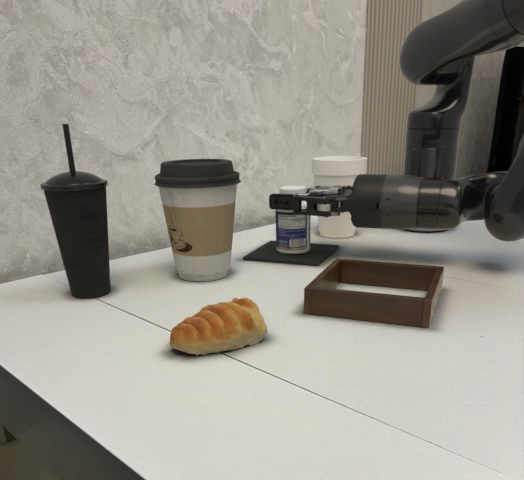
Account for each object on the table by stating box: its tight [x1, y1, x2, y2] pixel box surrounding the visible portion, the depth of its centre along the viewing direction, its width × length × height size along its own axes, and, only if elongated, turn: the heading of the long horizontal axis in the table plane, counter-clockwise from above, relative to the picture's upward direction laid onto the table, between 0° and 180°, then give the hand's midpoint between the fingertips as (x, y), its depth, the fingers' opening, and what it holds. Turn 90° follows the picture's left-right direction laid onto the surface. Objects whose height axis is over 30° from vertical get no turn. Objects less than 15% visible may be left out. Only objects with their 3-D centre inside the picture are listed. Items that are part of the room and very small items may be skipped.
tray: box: [303, 257, 445, 329], centre depth 64 cm, size 14×14×3 cm
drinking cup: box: [39, 123, 112, 299], centre depth 66 cm, size 8×8×20 cm
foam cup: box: [311, 155, 368, 239], centre depth 97 cm, size 10×9×13 cm
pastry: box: [169, 297, 268, 356], centre depth 54 cm, size 9×7×4 cm
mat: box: [242, 240, 340, 267], centre depth 87 cm, size 12×12×1 cm
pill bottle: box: [275, 185, 311, 254], centre depth 84 cm, size 5×5×10 cm
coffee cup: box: [153, 158, 242, 282], centre depth 74 cm, size 11×11×15 cm
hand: (277, 198), depth 84 cm, fingers closed on pill bottle, 5 cm apart
